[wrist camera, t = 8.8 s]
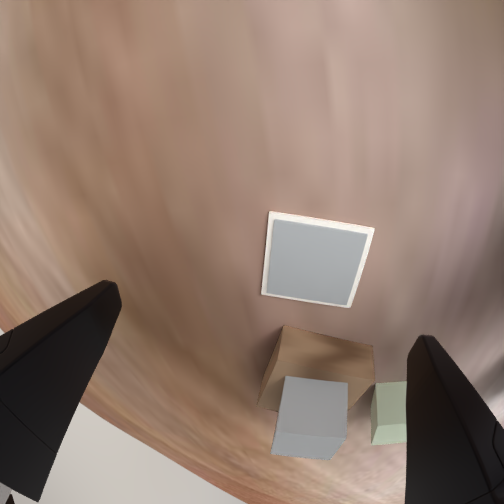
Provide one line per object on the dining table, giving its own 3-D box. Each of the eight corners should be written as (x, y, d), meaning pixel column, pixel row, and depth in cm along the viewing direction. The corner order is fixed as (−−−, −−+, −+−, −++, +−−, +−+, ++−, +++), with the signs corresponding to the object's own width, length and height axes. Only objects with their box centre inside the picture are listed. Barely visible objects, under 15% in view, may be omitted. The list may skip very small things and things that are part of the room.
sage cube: (422, 378, 26) (428, 420, 22) (412, 402, 29) (416, 440, 25) (375, 382, 28) (377, 425, 24) (370, 406, 30) (371, 445, 26)
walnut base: (372, 343, 25) (375, 380, 22) (337, 389, 30) (336, 422, 26) (284, 322, 25) (277, 359, 22) (263, 373, 30) (256, 406, 27)
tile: (374, 227, 19) (375, 231, 19) (350, 306, 23) (350, 309, 22) (269, 211, 20) (268, 213, 20) (261, 292, 24) (260, 296, 23)
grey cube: (347, 382, 22) (346, 438, 18) (333, 411, 25) (330, 460, 21) (285, 375, 23) (275, 431, 19) (279, 405, 26) (270, 453, 22)
